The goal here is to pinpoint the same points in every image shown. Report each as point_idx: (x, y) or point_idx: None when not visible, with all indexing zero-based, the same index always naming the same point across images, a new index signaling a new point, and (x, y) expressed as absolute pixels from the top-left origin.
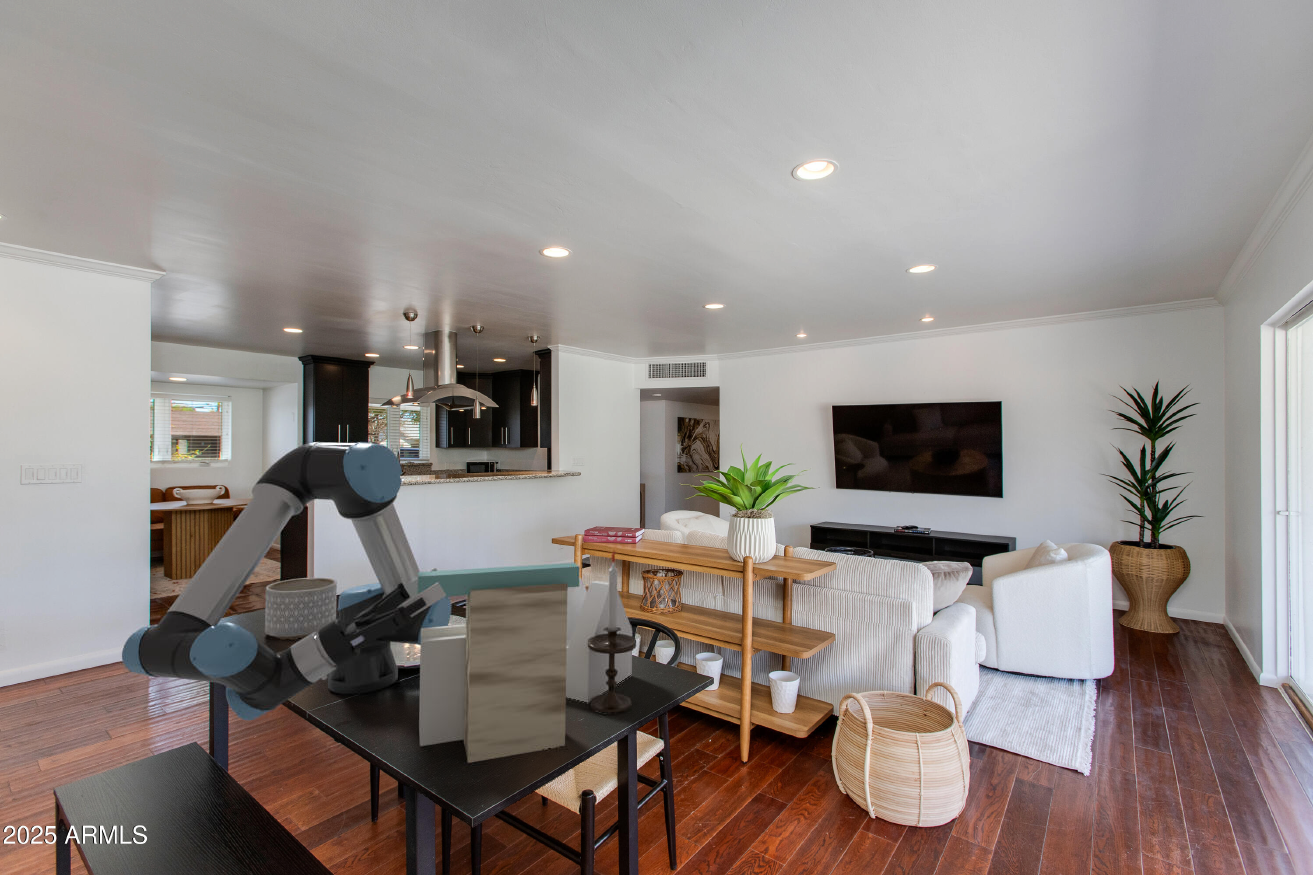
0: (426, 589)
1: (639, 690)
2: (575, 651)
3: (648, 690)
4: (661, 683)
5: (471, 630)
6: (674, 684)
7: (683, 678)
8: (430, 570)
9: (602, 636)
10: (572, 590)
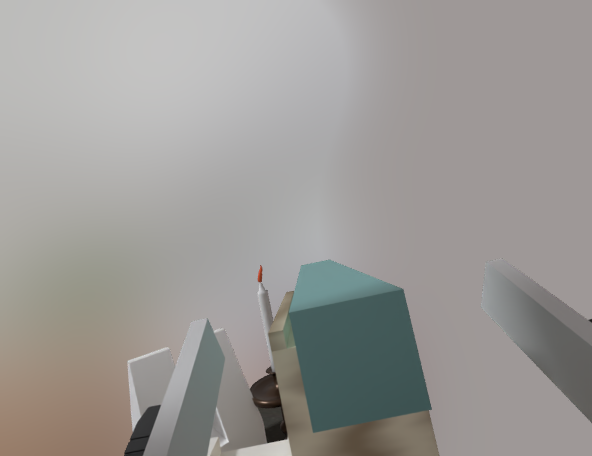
0: (534, 290)
1: (270, 442)
2: (242, 436)
3: (275, 435)
4: (264, 424)
5: (429, 417)
6: (273, 415)
7: (263, 409)
8: (199, 336)
9: (253, 393)
10: (171, 365)
